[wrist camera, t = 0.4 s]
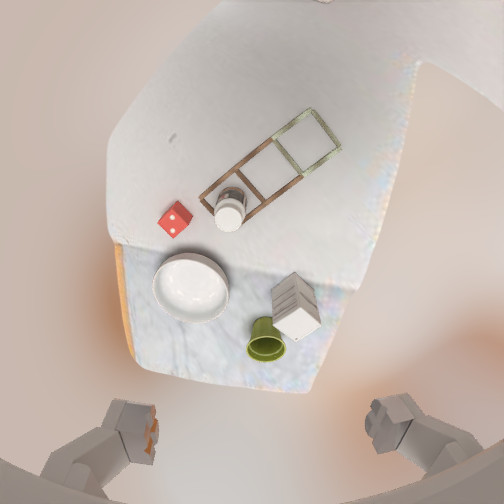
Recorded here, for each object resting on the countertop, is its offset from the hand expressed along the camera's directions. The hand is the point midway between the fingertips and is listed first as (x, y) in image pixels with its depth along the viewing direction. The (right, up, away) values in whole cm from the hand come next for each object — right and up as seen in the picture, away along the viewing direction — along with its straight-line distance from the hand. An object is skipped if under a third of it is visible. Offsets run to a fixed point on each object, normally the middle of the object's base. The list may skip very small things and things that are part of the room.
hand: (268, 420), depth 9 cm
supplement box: (+9, -3, +60) cm, 61 cm away
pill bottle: (-4, +16, +49) cm, 52 cm away
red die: (-16, +14, +51) cm, 55 cm away
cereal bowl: (-14, +1, +59) cm, 60 cm away
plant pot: (+3, -13, +66) cm, 67 cm away
